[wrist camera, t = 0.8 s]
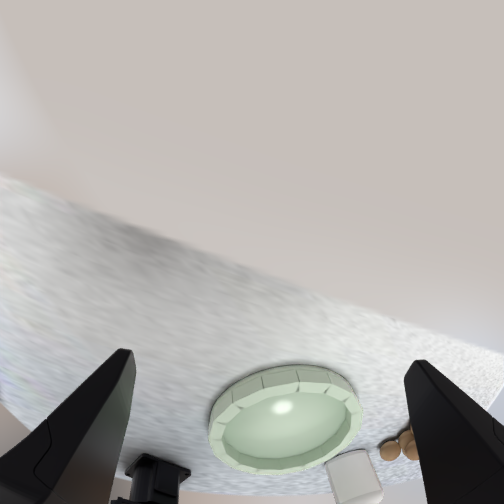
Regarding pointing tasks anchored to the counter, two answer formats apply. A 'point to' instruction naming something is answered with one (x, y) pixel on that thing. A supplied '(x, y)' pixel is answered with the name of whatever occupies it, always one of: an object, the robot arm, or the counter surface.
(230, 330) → the counter surface
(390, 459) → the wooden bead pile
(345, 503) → the eye dropper bottle
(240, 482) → the counter surface
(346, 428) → the sage dish
